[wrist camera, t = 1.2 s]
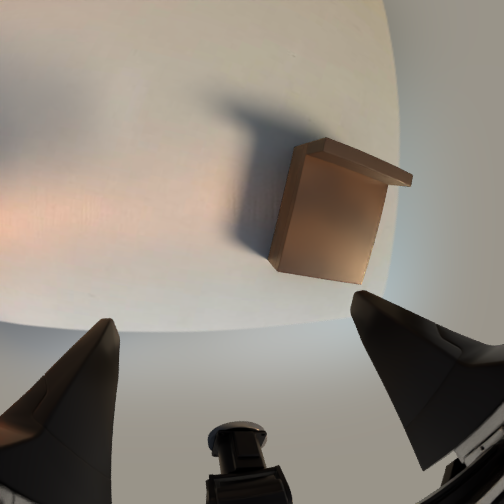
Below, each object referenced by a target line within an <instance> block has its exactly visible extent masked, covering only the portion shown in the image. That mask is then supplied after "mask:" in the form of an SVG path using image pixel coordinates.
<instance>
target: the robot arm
mask: <svg viewBox="0 0 504 504" xmlns="http://www.w3.org/2000/svg"><path fill="white" fill-rule="evenodd" d="M350 312H351V316H352V318H353V321H354V323H355V325H356V328H357V330H358V333H359V335H360V338H361V340H362V343H363V345H364V347H365V349H366V351H367V353H368V355H369V357H370V359H371V361H372V362H373V365H374V367H375V369H376V371H377V372H378V374H379V377H380V378H381V381H382V382H383V385H384V386H385V389H386V391H387V393H388V395H389V397H390V399H391V401H392V403H393V405H394V407H395V409H396V412H397V414H398V416H399V418H400V420H401V422H402V424H403V427H404V429H405V431H406V434H407V436H408V438H409V440H410V443H411V445H412V447H413V450H414V452H415V454H416V457H417V459H418V461H419V464H420V466H421V468H422V470H423V471H425V470H426V469H428V468H430V467H431V466H433V465H434V464H436V463H437V462H438V461H440V460H442V459H443V458H444V457H446V456H447V455H449V454H450V453H451V452H452V451H455V453H456V454H457V456H458V458H457V459H455V460H454V461H453V462H451V463H450V464H449V465H447V466H446V469H445V473H444V476H443V480H442V483H441V487H440V488H439V489H437V490H436V491H434V492H433V493H431V494H430V495H428V496H427V497H425V498H424V499H422V500H421V501H419V502H417V503H416V504H504V344H503V345H497V346H491V345H486V344H484V343H481V342H479V341H476V340H473V339H471V338H468V337H466V336H463V335H461V334H458V333H456V332H453V331H451V330H449V329H447V328H445V327H442V326H440V325H438V324H435V323H434V322H432V321H430V320H428V319H425V318H423V317H421V316H419V315H417V314H415V313H412V312H411V311H408V310H406V309H404V308H402V307H400V306H398V305H396V304H393V303H391V302H389V301H387V300H385V299H383V298H381V297H378V296H376V295H374V294H372V293H370V292H368V291H365V290H362V291H357V292H355V293H354V296H353V300H352V304H351V308H350ZM119 348H120V337H119V334H118V331H117V329H116V326H115V324H114V321H113V320H112V319H111V318H104V319H101V320H99V321H98V322H97V323H96V324H95V325H94V326H93V327H92V328H91V329H90V330H89V331H88V332H87V333H86V334H85V335H84V336H83V337H82V338H80V340H78V342H76V343H75V344H74V345H73V346H72V347H71V348H70V349H69V350H68V351H67V352H66V353H65V354H64V355H63V356H62V357H61V358H60V359H59V360H58V361H57V362H56V363H55V364H54V365H53V366H52V367H51V368H50V369H49V370H48V371H47V372H46V373H45V376H42V377H41V378H40V380H39V381H38V382H37V383H36V384H35V385H34V386H33V387H32V388H31V389H30V390H28V391H27V392H26V394H24V395H23V396H22V397H21V398H20V399H19V400H18V401H17V402H15V403H14V404H13V405H12V406H11V407H10V408H9V409H8V410H6V411H5V412H4V413H3V414H2V415H1V416H0V504H112V498H111V480H110V479H111V454H112V453H111V451H112V435H113V421H114V411H115V401H116V392H117V384H118V374H119ZM266 435H267V433H266V431H264V430H261V431H241V430H219V431H217V434H216V438H215V442H214V446H213V450H212V456H214V457H219V463H220V470H221V474H219V475H213V474H212V475H209V479H208V480H206V489H207V495H206V504H293V500H292V495H291V491H290V488H289V485H288V483H287V481H286V479H285V477H284V474H283V472H282V470H281V468H280V466H279V465H278V466H275V467H271V468H266V464H265V461H264V457H263V454H262V450H261V446H262V443H263V441H264V439H265V437H266Z"/></svg>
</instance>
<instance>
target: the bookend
mask: <svg viewBox="0 0 504 504" xmlns="http://www.w3.org/2000/svg"><path fill="white" fill-rule="evenodd" d="M412 178H413V175H412V174H410V173H408V172H406V171H404V170H402V169H400V168H398V167H396V166H394V165H392V164H390V163H387V162H385V161H383V160H381V159H379V158H376V157H374V156H372V155H369V154H367V153H365V152H362V151H360V150H358V149H355V148H353V147H350V146H348V145H345V144H343V143H340V142H337V141H335V140H332V139H329V138H327V137H325V138H322V139H319V140H315V141H312V142H309V143H305V144H302V145H299V146H296V147H294V151H293V155H292V160H291V164H290V168H289V173H288V177H287V181H286V186H285V190H284V194H283V198H282V203H281V207H280V211H279V215H278V219H277V223H276V228H275V232H274V236H273V240H272V244H271V248H270V252H269V256H268V261H269V262H270V263H271V264H272V266H273V267H274V268H275V269H276V270H277V272H283V273H289V274H295V275H302V276H308V277H314V278H321V279H327V280H334V281H340V282H347V283H353V284H360V285H361V284H362V281H363V278H364V275H365V271H366V268H367V265H368V262H369V258H370V255H371V252H372V248H373V245H374V241H375V237H376V234H377V230H378V226H379V222H380V218H381V214H382V210H383V206H384V202H385V197H386V193H387V188H388V185H397V186H407V187H410V186H411V184H412Z"/></svg>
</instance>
